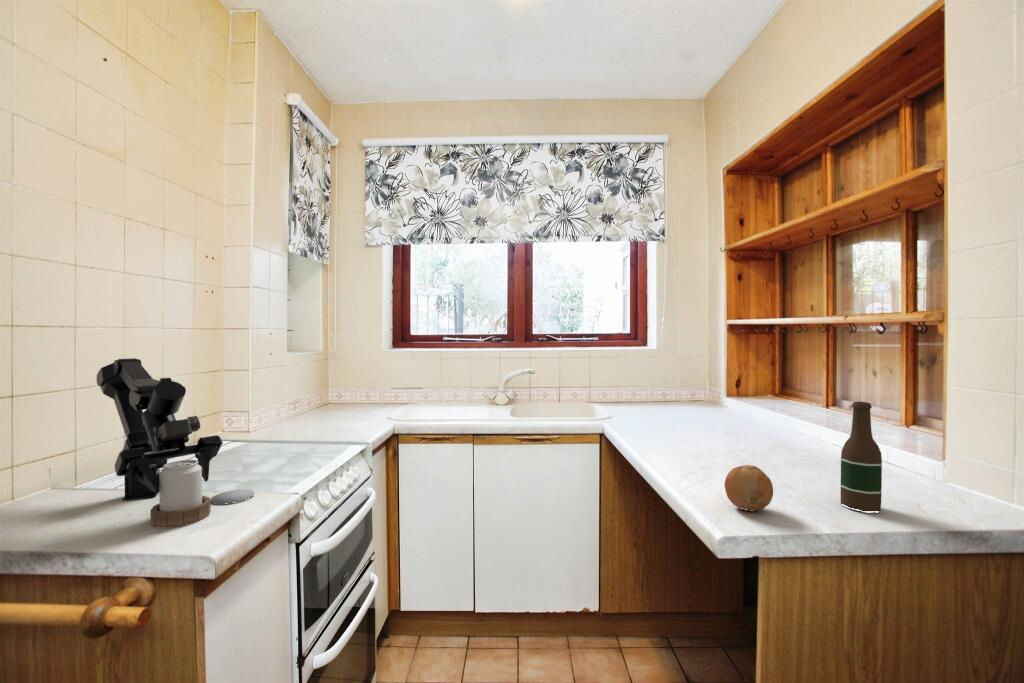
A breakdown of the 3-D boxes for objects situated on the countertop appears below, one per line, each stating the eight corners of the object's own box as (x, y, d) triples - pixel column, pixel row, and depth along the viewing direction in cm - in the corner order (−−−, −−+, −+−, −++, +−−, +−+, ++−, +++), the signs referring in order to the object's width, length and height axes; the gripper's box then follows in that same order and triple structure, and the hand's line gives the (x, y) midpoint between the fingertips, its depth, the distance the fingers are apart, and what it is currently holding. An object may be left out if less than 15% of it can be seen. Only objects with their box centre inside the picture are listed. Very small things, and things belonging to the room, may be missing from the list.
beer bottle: (874, 503, 107) (875, 400, 107) (888, 516, 100) (890, 405, 99) (834, 499, 110) (835, 399, 109) (846, 511, 102) (847, 404, 102)
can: (180, 526, 95) (179, 468, 95) (150, 523, 96) (149, 466, 96) (210, 512, 102) (210, 458, 102) (182, 510, 104) (182, 457, 104)
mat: (207, 507, 106) (207, 504, 106) (214, 494, 114) (214, 492, 114) (252, 501, 109) (252, 498, 109) (256, 489, 118) (256, 487, 118)
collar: (144, 531, 93) (144, 516, 93) (159, 513, 102) (158, 499, 102) (205, 522, 97) (205, 508, 97) (213, 506, 106) (213, 493, 106)
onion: (760, 502, 108) (760, 459, 108) (782, 518, 98) (782, 472, 98) (717, 501, 109) (718, 459, 109) (735, 517, 99) (735, 471, 99)
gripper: (118, 411, 94) (137, 474, 88) (218, 400, 109) (241, 453, 103) (106, 445, 99) (124, 507, 92) (204, 430, 114) (225, 482, 108)
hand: (182, 485), depth 99 cm, fingers open, 9 cm apart
